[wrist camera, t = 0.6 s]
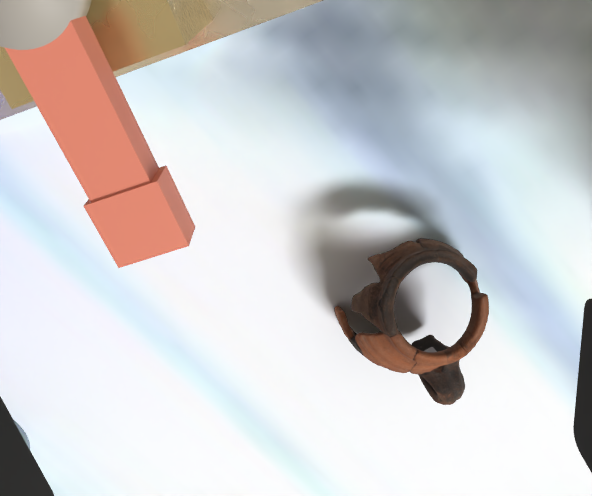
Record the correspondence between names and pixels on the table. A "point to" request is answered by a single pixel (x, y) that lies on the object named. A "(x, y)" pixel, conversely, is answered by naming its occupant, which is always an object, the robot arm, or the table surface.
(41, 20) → the lever
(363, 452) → the table surface
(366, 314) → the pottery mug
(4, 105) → the valve body
